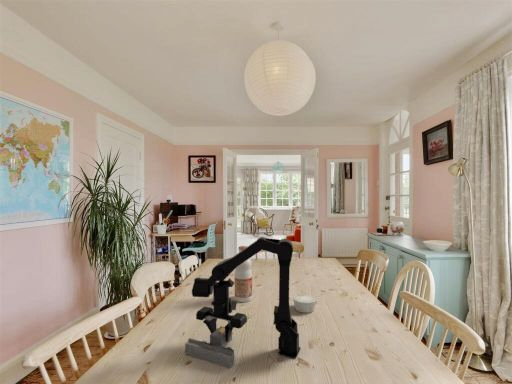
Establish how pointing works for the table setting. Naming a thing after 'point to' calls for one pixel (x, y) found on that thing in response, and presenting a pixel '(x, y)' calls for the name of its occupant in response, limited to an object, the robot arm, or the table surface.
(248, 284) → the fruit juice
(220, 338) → the block
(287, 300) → the robot arm
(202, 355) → the rail
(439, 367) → the table surface
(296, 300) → the ramekin
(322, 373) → the table surface
